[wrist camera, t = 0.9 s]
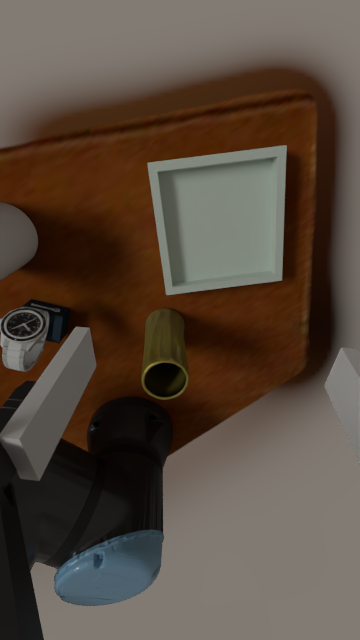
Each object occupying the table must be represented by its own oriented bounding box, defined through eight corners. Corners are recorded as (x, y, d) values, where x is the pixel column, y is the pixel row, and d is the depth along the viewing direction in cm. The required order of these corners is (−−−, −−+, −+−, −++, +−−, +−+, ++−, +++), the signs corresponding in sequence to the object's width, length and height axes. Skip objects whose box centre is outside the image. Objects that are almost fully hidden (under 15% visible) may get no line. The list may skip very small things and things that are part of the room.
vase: (187, 309, 43) (196, 359, 30) (181, 345, 45) (188, 405, 32) (147, 305, 42) (139, 354, 29) (143, 341, 45) (135, 401, 31)
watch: (71, 296, 41) (41, 328, 31) (64, 343, 44) (35, 386, 34) (31, 286, 40) (-13, 316, 30) (27, 335, 43) (-15, 377, 33)
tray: (274, 274, 41) (281, 280, 38) (166, 288, 41) (166, 295, 38) (277, 149, 35) (286, 145, 32) (148, 165, 35) (147, 162, 32)
